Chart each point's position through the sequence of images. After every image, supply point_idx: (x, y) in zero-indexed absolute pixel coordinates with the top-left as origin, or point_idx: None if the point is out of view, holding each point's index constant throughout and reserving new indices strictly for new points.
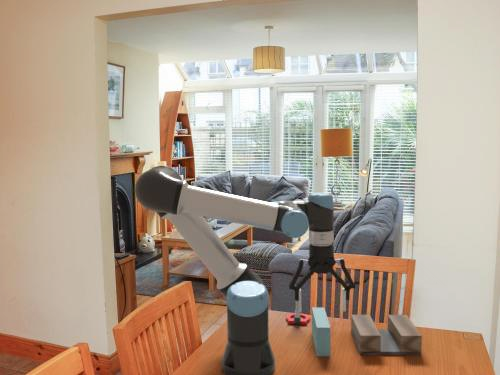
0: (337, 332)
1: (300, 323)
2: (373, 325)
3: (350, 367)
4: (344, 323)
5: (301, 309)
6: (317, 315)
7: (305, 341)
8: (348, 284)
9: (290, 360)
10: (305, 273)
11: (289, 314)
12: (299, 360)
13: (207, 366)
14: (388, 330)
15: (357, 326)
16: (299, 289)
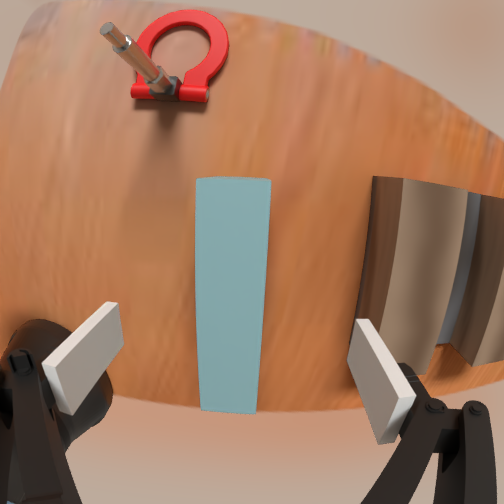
0: (322, 173)
1: (180, 99)
2: (444, 298)
3: (298, 401)
4: (364, 94)
5: (118, 351)
6: (214, 298)
7: (186, 248)
8: (444, 435)
9: (142, 362)
10: (21, 473)
11: (151, 25)
12: (165, 365)
13: (3, 351)
14: (480, 205)
15: (388, 309)
16: (52, 379)
